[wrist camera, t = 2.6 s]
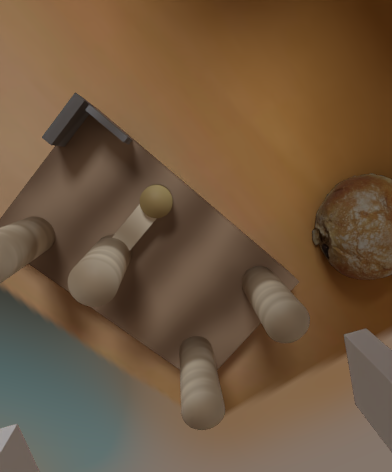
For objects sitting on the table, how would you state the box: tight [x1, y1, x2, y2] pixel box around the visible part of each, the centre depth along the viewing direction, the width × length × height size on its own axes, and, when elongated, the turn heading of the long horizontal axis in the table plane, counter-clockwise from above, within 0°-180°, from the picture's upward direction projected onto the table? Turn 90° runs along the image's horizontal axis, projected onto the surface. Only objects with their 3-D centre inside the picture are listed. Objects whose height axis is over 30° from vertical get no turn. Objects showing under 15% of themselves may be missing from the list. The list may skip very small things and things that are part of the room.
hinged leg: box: [68, 184, 173, 307], centre depth 24 cm, size 9×3×8 cm, turn 140°
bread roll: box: [312, 173, 392, 280], centre depth 31 cm, size 10×10×8 cm
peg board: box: [0, 93, 310, 430], centre depth 27 cm, size 24×14×11 cm, turn 50°
